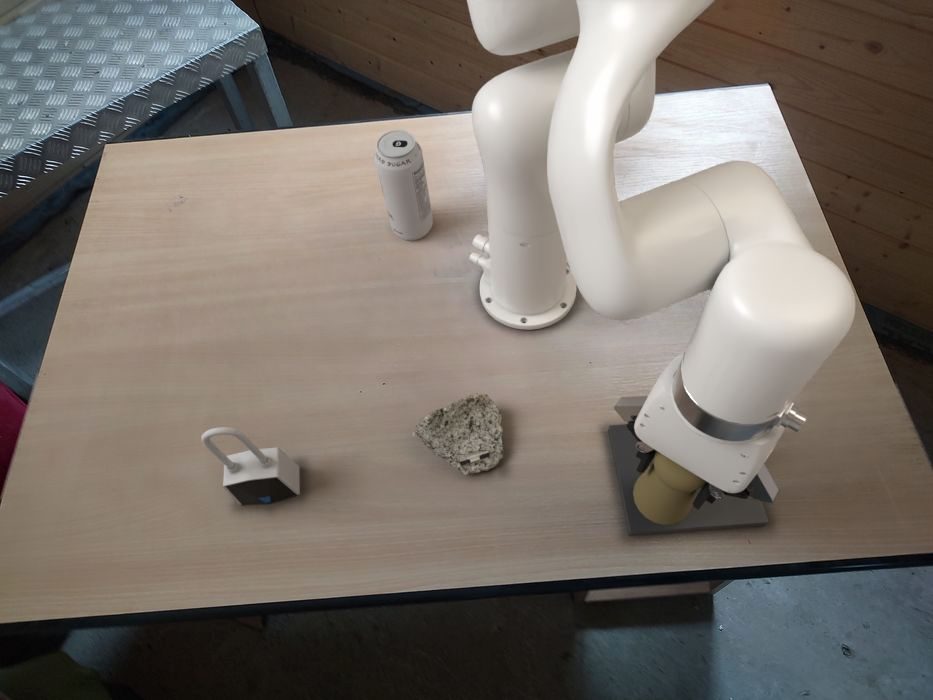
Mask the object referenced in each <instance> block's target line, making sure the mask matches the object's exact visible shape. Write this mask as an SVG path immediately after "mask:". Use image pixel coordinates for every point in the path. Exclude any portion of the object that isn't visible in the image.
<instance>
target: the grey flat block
mask: <svg viewBox="0 0 933 700" xmlns="http://www.w3.org/2000/svg"><path fill="white" fill-rule="evenodd" d="M627 424H628V423H623V424H612V425H609V426H608V429H607V433H608V439H609V444H610V448H611V453H612V459H613V464H614V469H615V474H616V480H617V485H618V490H619V495H620V500H621V505H622V510H623V516H624V522H625V527H626V532H627V535H628V537H636V536H637V537H638V536H639V537H640V536H650V535H651V536H653V535H663V534H664V535H665V534H677V533H678V534H679V533H691V532H705V531H706V532H707V531H719V530H720V531H721V530H732V529H746V528H760V527H761V528H762V527H765V526H767V525H768V524H769V523H770V520H769V518H768V517H769V516H768V514H767V512H766V508H765V505H764V502H763V501H759V500H755V499H752V497H749V496H748V498H747V499H742V498H737V497H732V496H727V495H724V497H723V499H716V500H715V501H714V502H713V504H711V503H709V502H708V501H705V502H704V503H703V505H702V506H701V507H700V508H699V510H698V509H696V508H695V507H693V506H694V505H692V508H691V510H690V512H689V514H688V516H686V517H685V518H684V519H683V520H682V521H680V522H678V523H675V524H671V525H662V524H658V523H654V522H653V521H651V520H649V519H648V518H646V517H645V516H644V515H643V514H642V513H641V512H640V511H639V509H638V508H637V506H636V504H635V501H634V496H633V490H634V485H635V483H636V481H637V479H638V478H639V477H640V476H641V475H642V474H643V473H642V472H641V473H640V472H638V471H636V470H637V467H638V465H639V463H640V461H641V459H639V458H637V457H636V454H637V452H638V449H637V448H636V446H635V445H636V444H637V442H638V441H637V440H636V438H635V437H634V436H633V435H632V433H631V432H630V431H629V429H628V428H627ZM653 461H654V458H653V459H652V461H651V463H650V464H649V466H648V467H647V469H648V468H649V467H650V466H651V465H652V464H653ZM647 469H646V470H647ZM646 470H645V471H646ZM701 488H702V487H701ZM701 488H699V489H697V492H696V495H695V498H696V497H697V495H698V493H699V492H700V490H701ZM695 498H694V500H695Z"/></svg>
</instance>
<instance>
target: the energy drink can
mask: <svg viewBox="0 0 933 700" xmlns="http://www.w3.org/2000/svg"><path fill="white" fill-rule="evenodd" d="M374 162H375V167H376V170H377V175H378V179H379V182H380V186H381V190H382V195H383V199H384V203H385V207H386V212H387V215H388V219H389V224H390V228H391V231H392V232H393V233H394V235H396V236H397V237H399V238H401V239H402V240H405V241H417V240H420V239H423V238H424V237H425V236H426V235H428V233H429V231H431V229H432V227H433V224H434V219H433V217H434V216H433V211H432V205H431V198H430V194H429V186H428V180H427V174H426V169H425V162H424V155H423V149H422V146H421V144H419V143H418V141H416V137H415V136H414V134H412V133H411V132H409V131H407V130H404V129H403V130H402V129H396V130H391V131H387V132H386V133H384V134H382V135H381V136H380V137H379V138H378V140H377V142H376V150H375V152H374Z"/></svg>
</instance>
